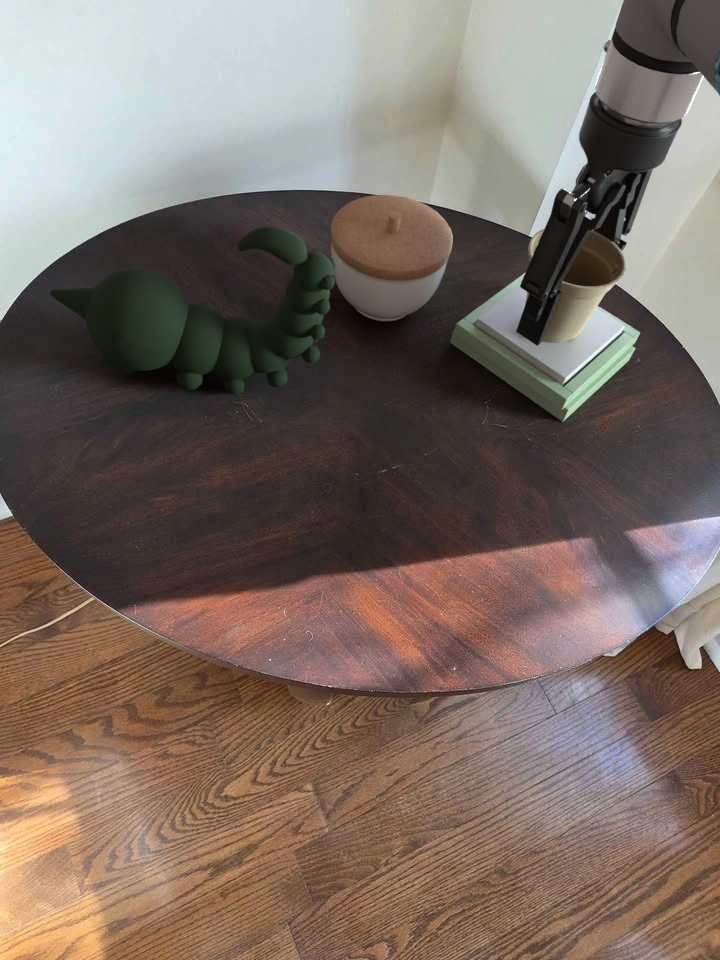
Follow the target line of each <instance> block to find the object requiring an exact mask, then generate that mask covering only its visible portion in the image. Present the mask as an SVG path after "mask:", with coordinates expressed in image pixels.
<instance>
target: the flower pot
mask: <svg viewBox="0 0 720 960" xmlns="http://www.w3.org/2000/svg"><path fill="white" fill-rule="evenodd" d="M544 229H545V228H542V229H540V230H539V231H537V232H536V233H535V234H534V235H533V236H532V237H531V239H530V241H529V243H528V247H527V252H528V258H529V262H530V261H531V259H532V257H533V254H534V252H535V250H536V247H537V245H538V243H539V240H540V238H541V236H542V234H543V231H544ZM626 271H627V260H626V257H625V255H624V253H623V250H622V251H621V250H620V249H619V247H618V246H617V245H616V244H615V243H614V242H612V241H611V240H610V239H609V238H607V237H606V236H604V235H602V234H600V233H598V232H595V231H594V230H592V231H591V233H590V235H589V236H588V238H587V240H586V242H585V243H584V245H583V247H582V249H581V250H580V252H579V254H578V256H577V257H576V259H575V261H574V263H573V264H572V266H571V268H570V270H569V271H568V273H567V275H566V277H565V278H564V280H563V282H562V284H561V285H560V287H559V289H558V290H559V291H560V292H561V295H560V297H559V300H558V302H557V305H556V307H555V310H554V312H553V315H552V318H551V320H550V323H549V325H548V328H547V330H546V333H545V335H544V338H543V339H544V340H547V341H551V342H565V341H567V340H570V339H573V338H576V337H577V336H578V335H579V334H580V333H581V331H582V329H583V328H584V326H585V325H586V323H587V321H588V320H589V318H590V317H591V315H592V313H593V312H594V310H595V309H596V307H597V306H599V304H600V303H601V301H602V300H603V298H604V297H605V295H606V293H608V292H609V291H610V290H611V289H612V288H613V287H614V286H615V285H617V284H618V283H619V282H620V281H621V280H622V279H623V277H624V276H625V274H626ZM528 296H529V293H528V292H527V296H526V302H527V299H528ZM526 302H525V304H526Z"/></svg>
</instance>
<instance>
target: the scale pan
mask: <svg viewBox="0 0 720 960" xmlns="http://www.w3.org/2000/svg"><path fill="white" fill-rule="evenodd" d="M526 296H527V291H525V290H524V289H522V288H521V287H519V288H518V289H516V290H515V291H514V292H512V293H511V294H510V295H508V296H507V297H506V298H504V299H503V300H502V301H500V302H499V303H498V304H496V305H495V306H494V307H492V308H491V309H490V310H488V311H487V312H486V313H484V314H483V315H482V316H480V317H479V318H478V319H477V322H476V325H475V327H477V328H478V329H479V330H481V331H482V332H484V333H485V334H487V335H488V336H490V337H491V338H493V339H494V340H496V341H497V342H498V343H500V344H501V345H503V346H504V347H506V348H507V349H509V350H510V351H512V352H513V353H514V354H516V355H517V356H519V357H520V358H522V359H523V360H525V361H526V362H528V363H529V364H531V365H532V366H533V367H535V368H536V369H538V370H539V371H541V372H542V373H544V374H545V375H547V376H548V377H549V378H551V379H552V380H554V381H555V382H557V383H558V384H560V385H561V386H564V385H566V384H567V383H568V382H569V381H570V380H571V379H572V378H573V377H575V376H576V375H577V374H578V373H579V372H580V371H581V370H582V369H583V368H585V367H586V366H587V365H588V364H589V363H590V362H591V361H592V360H594V359H595V358H596V357H597V356H598V355H599V354H600V353H601V352H603V351H604V350H605V349H606V348H607V347H608V346H609V345H610V344H611V343H613V342H614V341H615V340H616V339H617V338H618V337H619V336H620V334H621V332H622V330H623V328H624V325H622V324H621V323H619V322H617V321H616V320H614V319H613V318H611V317H610V316H608V315H606V314H605V313H603V312H602V311H600V310H598V309H597V308H596V309H595V310H594V312H593V313H592V315H591V317H590V318H589V320H588V321H587V323H586V325H585V326H584V328H583V329H582V331H581V333H580V334H579V335H578V336H577V337H576V338H573V339H570V340H567V341H565V342H551V341H547V340H544V339H543V340H542V343H540V344H539V345H538V346H537V345H535V344H534V343H532V342H531V341H529V340H528V339H526V338H525V337H523V336H522V335H520V334H519V333H517V332H516V330H517V327H518V324H519V322H520V319H521V316H522V313H523V310H524V307H525V302H526Z"/></svg>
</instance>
